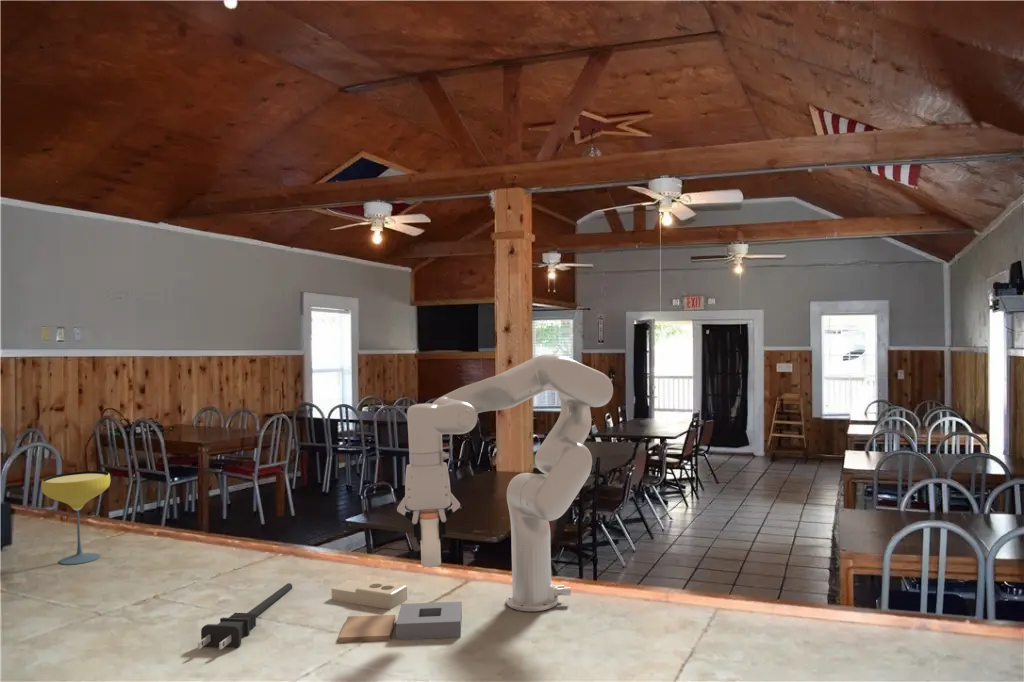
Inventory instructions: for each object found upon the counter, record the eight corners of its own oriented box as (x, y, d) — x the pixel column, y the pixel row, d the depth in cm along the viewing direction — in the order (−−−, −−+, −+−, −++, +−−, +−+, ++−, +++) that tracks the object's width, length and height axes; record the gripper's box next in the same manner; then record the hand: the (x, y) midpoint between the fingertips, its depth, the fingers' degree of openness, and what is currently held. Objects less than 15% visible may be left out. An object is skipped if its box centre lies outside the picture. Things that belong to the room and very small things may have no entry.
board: (395, 618, 184) (395, 614, 184) (389, 640, 172) (389, 635, 172) (348, 620, 184) (347, 616, 184) (338, 642, 172) (338, 637, 172)
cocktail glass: (73, 549, 247) (69, 470, 246) (126, 550, 245) (123, 470, 244) (30, 568, 229) (26, 482, 228) (87, 569, 227) (83, 483, 226)
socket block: (461, 616, 185) (461, 601, 185) (460, 637, 173) (460, 621, 173) (401, 618, 184) (401, 603, 184) (396, 639, 172) (396, 623, 172)
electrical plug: (189, 657, 166) (189, 633, 166) (273, 595, 207) (273, 576, 207) (228, 658, 165) (228, 634, 165) (304, 596, 206) (304, 577, 206)
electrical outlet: (349, 576, 204) (407, 584, 197) (349, 591, 205) (407, 601, 197) (331, 584, 198) (390, 594, 190) (331, 600, 198) (391, 611, 190)
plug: (440, 560, 181) (438, 508, 180) (441, 566, 176) (438, 513, 176) (421, 561, 180) (419, 509, 180) (421, 567, 176) (419, 514, 175)
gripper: (463, 453, 182) (466, 531, 183) (389, 458, 180) (393, 537, 181) (464, 459, 174) (468, 541, 175) (387, 464, 173) (391, 546, 174)
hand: (430, 538), depth 178 cm, fingers closed on plug, 4 cm apart
